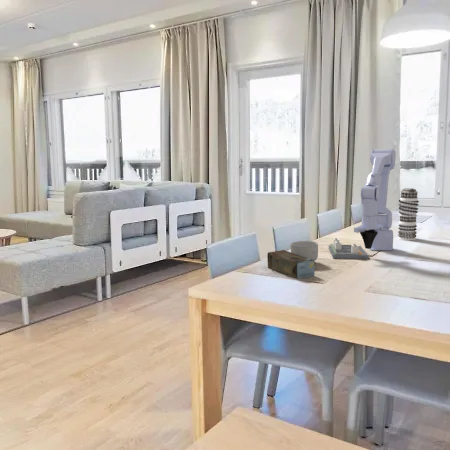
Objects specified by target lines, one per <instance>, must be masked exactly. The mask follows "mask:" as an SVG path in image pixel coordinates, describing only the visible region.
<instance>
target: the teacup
mask: <svg viewBox="0 0 450 450" xmlns="http://www.w3.org/2000/svg"><path fill="white" fill-rule="evenodd" d="M289 246H290V252H291V253H294V254H297V255H300V256H303V257H306V258H309V259H312V260H314V261H317V259H318V258H319V257H318V256H319V242H317V241H314V240H297V241H293V242H291V243H290V244H289Z"/></svg>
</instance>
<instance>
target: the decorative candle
mask: <svg viewBox="0 0 450 450" xmlns="http://www.w3.org/2000/svg"><path fill="white" fill-rule="evenodd" d="M398 202H399V203H398V206H399V207H398V209H399V211H398V213H399V214H398V215H399V221H398V223H399V224H398V231H397V233H398V234H397V236H398V237H397V239H398V240H401V241H416V240H417V238H416V237H417V230H418V228H417V227H418V226H417V217H418V213H419V208H418V206H419V203H420V200H418V191H417V189H416V188H412V187H411V188H409V187H408V188H406V187H405V188H403V189H401V190H400V198H399V200H398Z"/></svg>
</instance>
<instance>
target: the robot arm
mask: <svg viewBox="0 0 450 450" xmlns="http://www.w3.org/2000/svg"><path fill="white" fill-rule="evenodd" d="M369 160H370V164H371V166H372V168H371V172H370V173H369V174H368V175H367V178H366V180H365V184H364V186H362V187H361V189H360V198H361V200H360V201H361V206H362V209H361V225H360V226H354V227H353V232H354V233H357V234H360V236H361V237H362V241H363V244H364V248H365V249H368V250H370V251H394V232H393V230H392V229H391V228H392V227H393V213H392V211H391V210H390V209H389V208H387V201H388V200H387V199H388V191H389V188H388V187H389V179H390V173H391V171H393V169H395V166H396V149H394V148H390V149H389V148H386V149H380V148H379V149H374V148H373V149H372V150H371V151H370V154H369Z"/></svg>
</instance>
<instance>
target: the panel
mask: <svg viewBox="0 0 450 450" xmlns="http://www.w3.org/2000/svg"><path fill="white" fill-rule="evenodd" d="M358 246H359V249H358V253H351V244H341V250H335V247H333V243H330V245H328V247H327V248H328V250H329V253H330V255H331V257H332V259H341V260H342V259H343V260H345V259H348V260H349V259H350V260H369V254H368V253H367V251H365V249H364V248H363V247H362V246H361V245H358Z"/></svg>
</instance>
